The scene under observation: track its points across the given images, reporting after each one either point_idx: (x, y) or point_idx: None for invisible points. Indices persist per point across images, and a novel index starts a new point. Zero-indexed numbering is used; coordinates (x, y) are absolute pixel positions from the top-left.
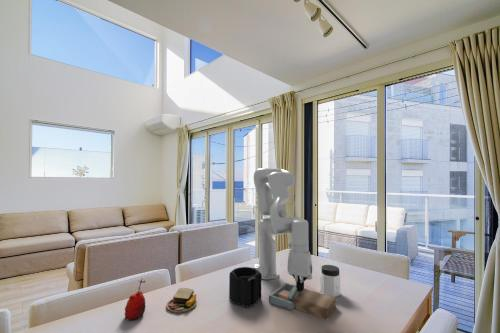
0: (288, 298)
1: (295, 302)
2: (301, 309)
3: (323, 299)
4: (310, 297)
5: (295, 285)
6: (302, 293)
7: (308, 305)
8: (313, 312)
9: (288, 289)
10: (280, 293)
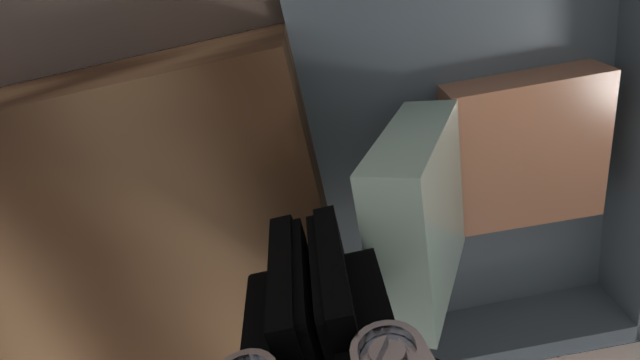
0: None
1: (264, 39)
2: (184, 48)
3: (8, 325)
4: (145, 250)
5: (430, 291)
6: None
7: (52, 90)
8: (19, 87)
9: (573, 290)
10: (595, 99)
